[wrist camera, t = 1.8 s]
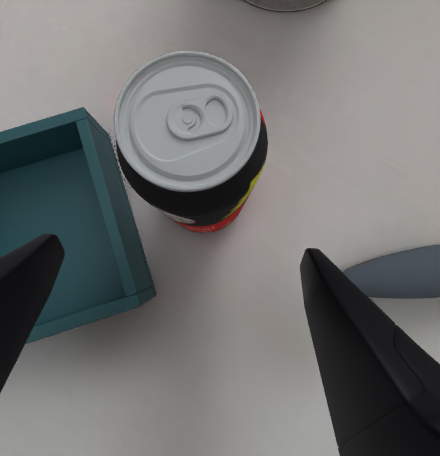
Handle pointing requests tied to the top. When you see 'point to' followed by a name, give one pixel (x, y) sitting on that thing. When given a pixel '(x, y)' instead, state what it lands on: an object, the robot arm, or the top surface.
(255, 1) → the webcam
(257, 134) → the beverage can
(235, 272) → the top surface
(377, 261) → the paintbrush
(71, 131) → the tote
